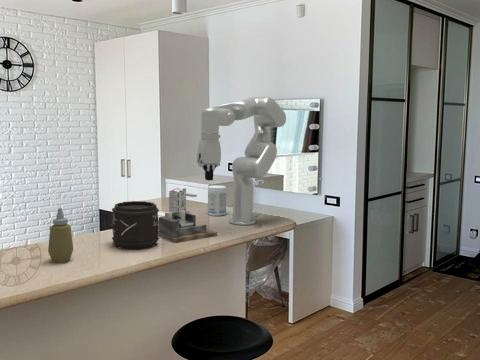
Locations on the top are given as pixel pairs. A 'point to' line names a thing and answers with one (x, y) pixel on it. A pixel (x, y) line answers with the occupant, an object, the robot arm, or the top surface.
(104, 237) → the top surface
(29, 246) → the top surface
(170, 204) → the candy bar box
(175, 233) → the force tester
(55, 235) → the squeeze bottle
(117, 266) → the top surface
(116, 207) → the black round canister
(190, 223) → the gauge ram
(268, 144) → the robot arm
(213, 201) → the supplement tub
